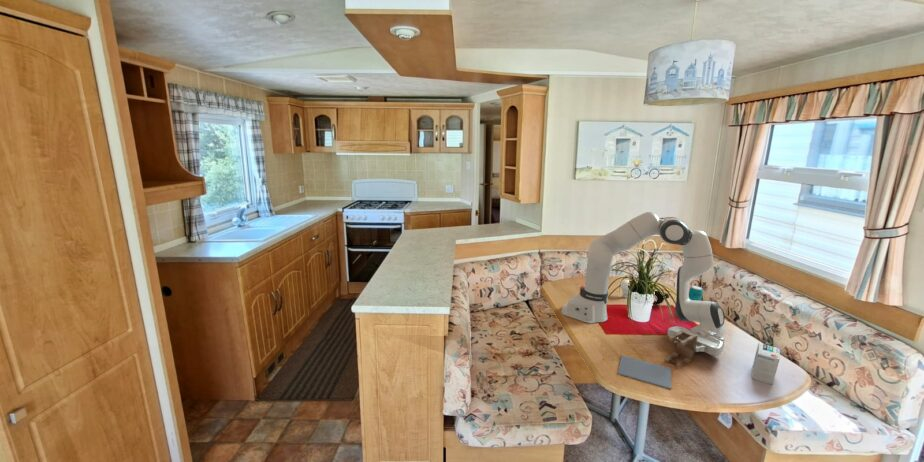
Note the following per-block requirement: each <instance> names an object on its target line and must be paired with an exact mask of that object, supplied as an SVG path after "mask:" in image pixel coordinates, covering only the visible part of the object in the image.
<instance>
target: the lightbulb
mask: <svg viewBox="0 0 924 462" xmlns="http://www.w3.org/2000/svg"><path fill="white" fill-rule="evenodd" d="M629 280H630V279H622V280H621V282H620V283H619V284H620V285H621V286H620V289H621V290H622V298H624V299H626V298H628V296H627V294H628V295H629V292H628V283H629Z"/></svg>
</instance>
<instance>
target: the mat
mask: <svg viewBox="0 0 924 462" xmlns="http://www.w3.org/2000/svg"><path fill="white" fill-rule="evenodd" d="M617 375H620V376H624V377H626V378H627V377H628V378H630V379H633V380H637V381H641V382H644V383H648V384H651V385H653V386H656V387H657V386H658V387H660V388H661V387H662V388H665V389H668V390H672V368H671V367H667V366H663V365H661V364H660V365H659V364H656V363H652V362H649V361H645V360H642V359H641V360H640V359H638V358H634V357H629V356H627V355H621V357H620V361H619V367H618V371H617Z"/></svg>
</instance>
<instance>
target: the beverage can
mask: <svg viewBox="0 0 924 462" xmlns="http://www.w3.org/2000/svg"><path fill="white" fill-rule="evenodd" d="M703 292H704V291H703V287H701V286H699V285H690V287H689V299H691V300H696V301H702V297H703Z"/></svg>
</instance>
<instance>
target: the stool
mask: <svg viewBox="0 0 924 462" xmlns="http://www.w3.org/2000/svg"><path fill="white" fill-rule="evenodd" d="M697 337H698V335H695V334H693V333H690V332H688V331H685V330H683V329H682V330H680V331H679V332H677V333H675V334H674V335H672V336H670V337H669V336H668V341H670V342H672V341H674V342H675V341H677V343H676V349H675V352H674V353H672V354H671V355H669V356H667V357H665V358H664V362H665V363H666V364H667V363H668V364H669V363H671V364H674V365H675V367H676V368H677V369H680V368H681V367H683V366H684V365H686V364H688V363H689V362H692V361H693V360H694V358H695V353H696V352H695V351H693V349H694V347H695V346H696V342H697ZM678 357H679V358H682V360H680V361H679V362H678V361H676V360H675V359H677V358H678Z"/></svg>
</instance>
